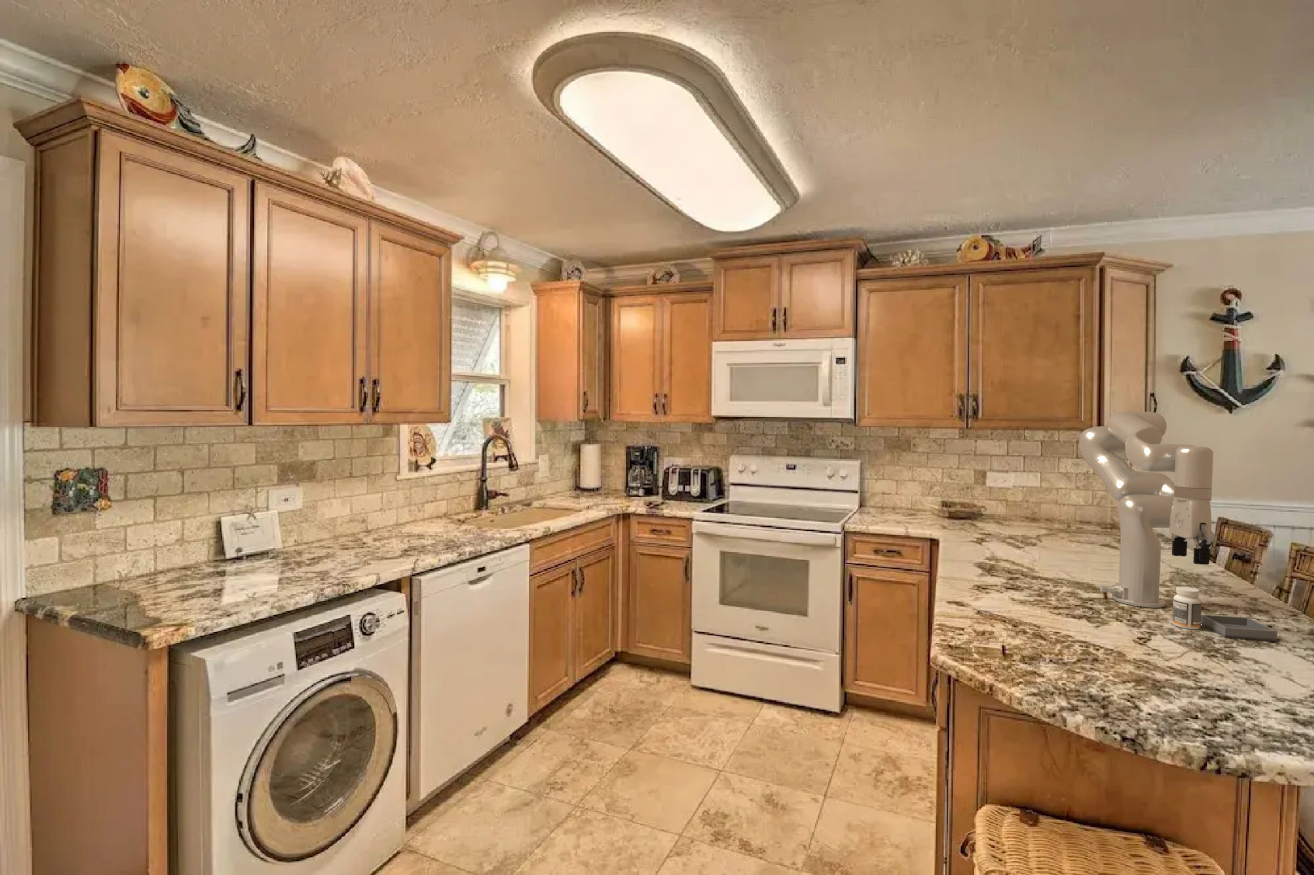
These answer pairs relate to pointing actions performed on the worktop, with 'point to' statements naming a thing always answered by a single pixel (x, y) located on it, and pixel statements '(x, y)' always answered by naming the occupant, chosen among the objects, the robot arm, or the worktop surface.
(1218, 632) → the tray
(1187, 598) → the pill bottle
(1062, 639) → the worktop surface
